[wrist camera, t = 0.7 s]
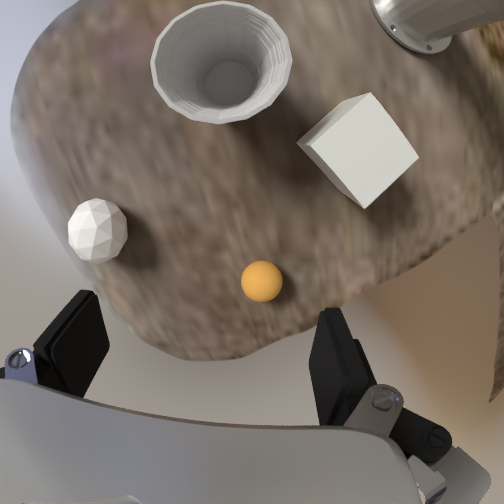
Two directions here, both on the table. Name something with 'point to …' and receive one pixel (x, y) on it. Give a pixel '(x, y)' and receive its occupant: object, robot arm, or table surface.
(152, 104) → the table surface
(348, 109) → the white angular block
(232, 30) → the plastic cup
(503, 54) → the table surface
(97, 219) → the geometric ball
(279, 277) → the ball
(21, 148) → the table surface
